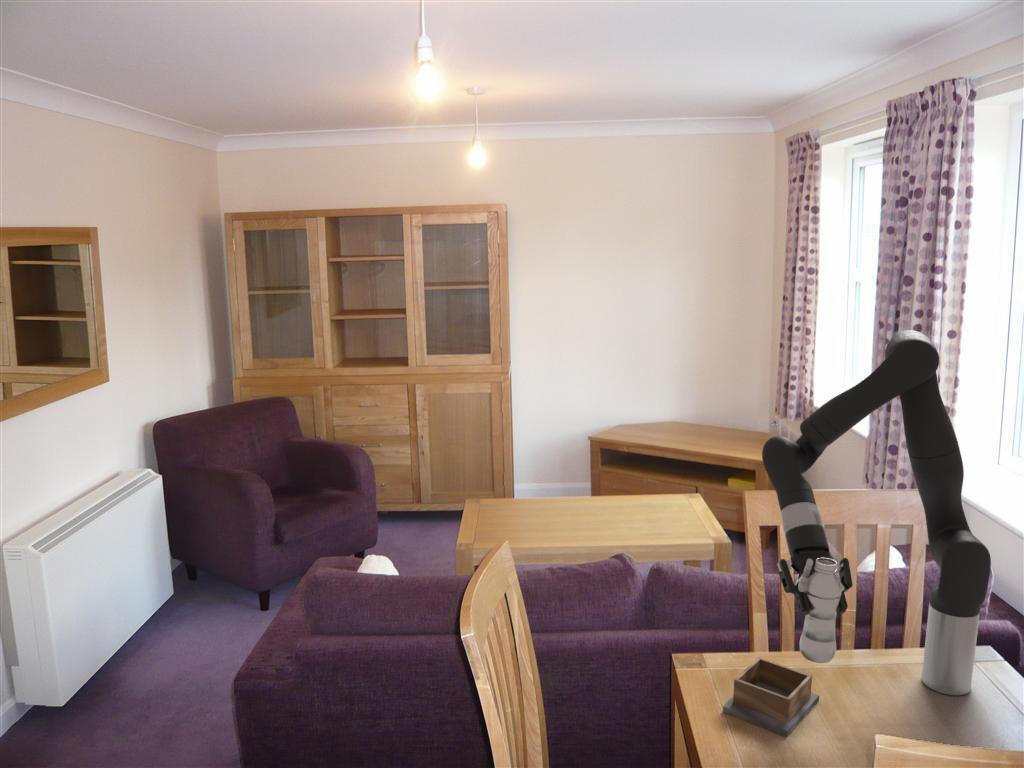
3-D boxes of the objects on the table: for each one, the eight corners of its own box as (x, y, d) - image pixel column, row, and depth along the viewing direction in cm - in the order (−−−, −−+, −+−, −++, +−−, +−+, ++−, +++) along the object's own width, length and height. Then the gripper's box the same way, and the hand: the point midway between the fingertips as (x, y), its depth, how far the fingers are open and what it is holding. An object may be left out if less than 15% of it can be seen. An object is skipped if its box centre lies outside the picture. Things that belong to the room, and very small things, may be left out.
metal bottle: (837, 669, 163) (848, 570, 158) (800, 665, 164) (810, 566, 160) (832, 652, 169) (842, 556, 165) (795, 648, 170) (805, 552, 166)
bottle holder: (757, 678, 182) (759, 651, 181) (818, 700, 174) (821, 672, 173) (722, 711, 170) (724, 682, 169) (786, 737, 162) (788, 707, 161)
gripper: (775, 523, 168) (794, 607, 159) (846, 522, 169) (869, 605, 160) (762, 538, 174) (781, 620, 165) (831, 537, 175) (853, 618, 166)
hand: (824, 612), depth 163 cm, fingers closed on metal bottle, 6 cm apart
